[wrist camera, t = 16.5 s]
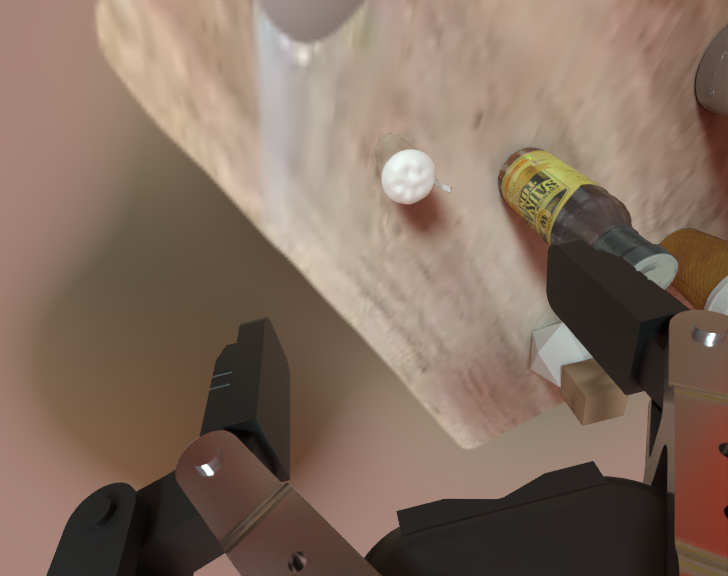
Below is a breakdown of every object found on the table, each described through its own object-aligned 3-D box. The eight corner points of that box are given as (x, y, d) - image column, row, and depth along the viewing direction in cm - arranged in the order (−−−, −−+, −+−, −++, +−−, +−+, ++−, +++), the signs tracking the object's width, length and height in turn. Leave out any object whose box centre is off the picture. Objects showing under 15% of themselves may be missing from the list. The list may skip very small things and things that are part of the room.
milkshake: (414, 177, 44) (442, 217, 36) (363, 169, 43) (380, 209, 34) (426, 131, 42) (459, 163, 33) (372, 122, 40) (393, 152, 32)
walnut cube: (602, 355, 51) (630, 386, 47) (598, 383, 54) (623, 415, 50) (562, 365, 51) (586, 397, 47) (560, 393, 54) (582, 425, 50)
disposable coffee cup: (730, 225, 53) (831, 276, 43) (679, 288, 58) (759, 347, 48) (673, 207, 50) (767, 256, 40) (624, 274, 55) (697, 334, 45)
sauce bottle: (500, 145, 43) (627, 231, 27) (558, 144, 44) (716, 226, 28) (489, 206, 47) (595, 315, 30) (542, 204, 48) (674, 309, 31)
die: (586, 333, 61) (628, 337, 51) (564, 390, 60) (602, 405, 51) (532, 310, 61) (564, 310, 51) (510, 367, 61) (537, 377, 51)
